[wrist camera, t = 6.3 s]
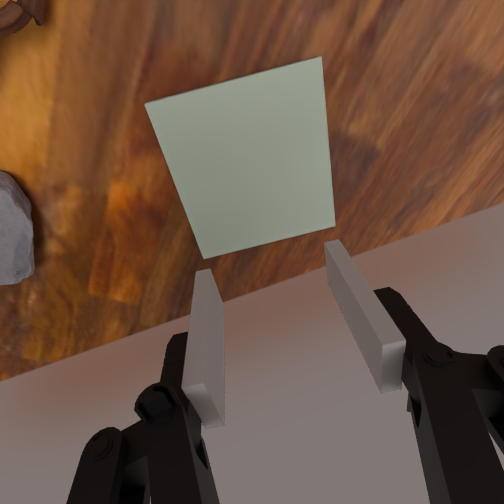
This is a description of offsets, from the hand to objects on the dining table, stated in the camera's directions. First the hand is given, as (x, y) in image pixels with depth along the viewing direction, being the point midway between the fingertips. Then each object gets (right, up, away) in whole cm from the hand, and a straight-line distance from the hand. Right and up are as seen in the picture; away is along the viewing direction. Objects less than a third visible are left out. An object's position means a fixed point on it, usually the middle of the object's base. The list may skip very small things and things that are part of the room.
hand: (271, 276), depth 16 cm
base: (-1, +10, +15) cm, 18 cm away
